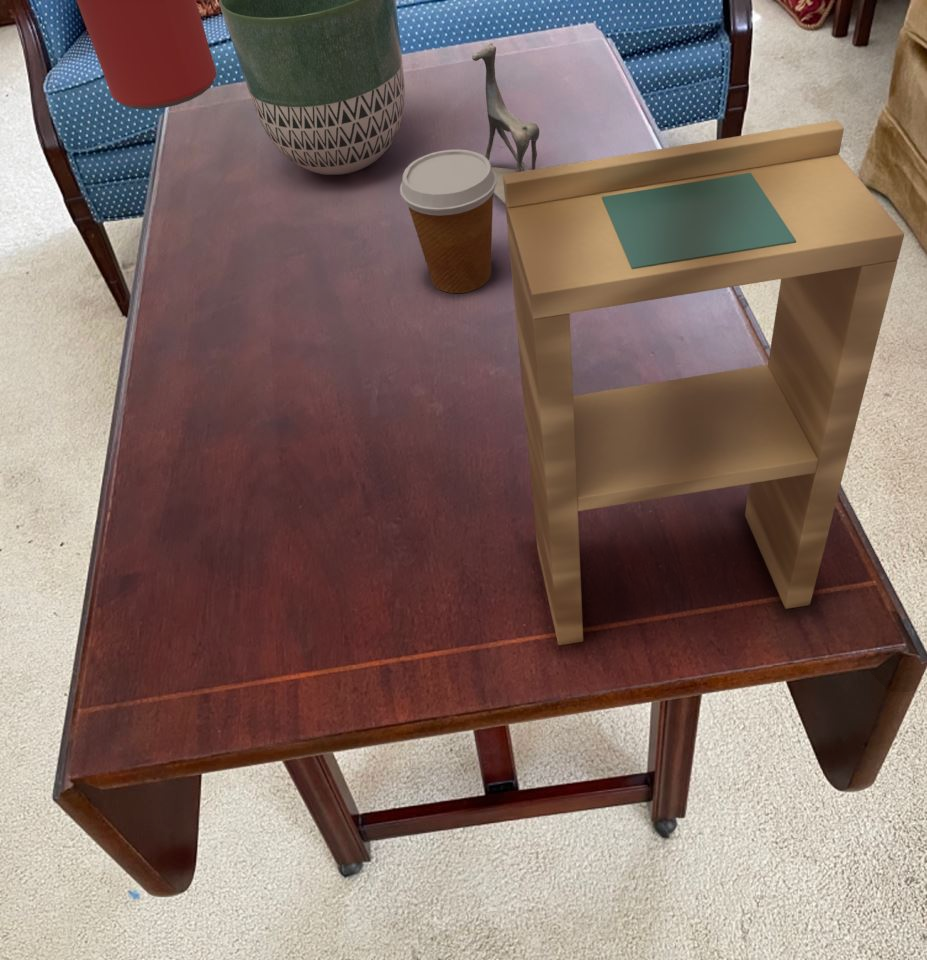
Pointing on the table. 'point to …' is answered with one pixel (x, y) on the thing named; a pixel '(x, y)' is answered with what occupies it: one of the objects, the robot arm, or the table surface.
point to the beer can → (150, 50)
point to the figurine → (505, 123)
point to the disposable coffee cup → (452, 216)
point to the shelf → (712, 397)
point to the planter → (322, 77)
